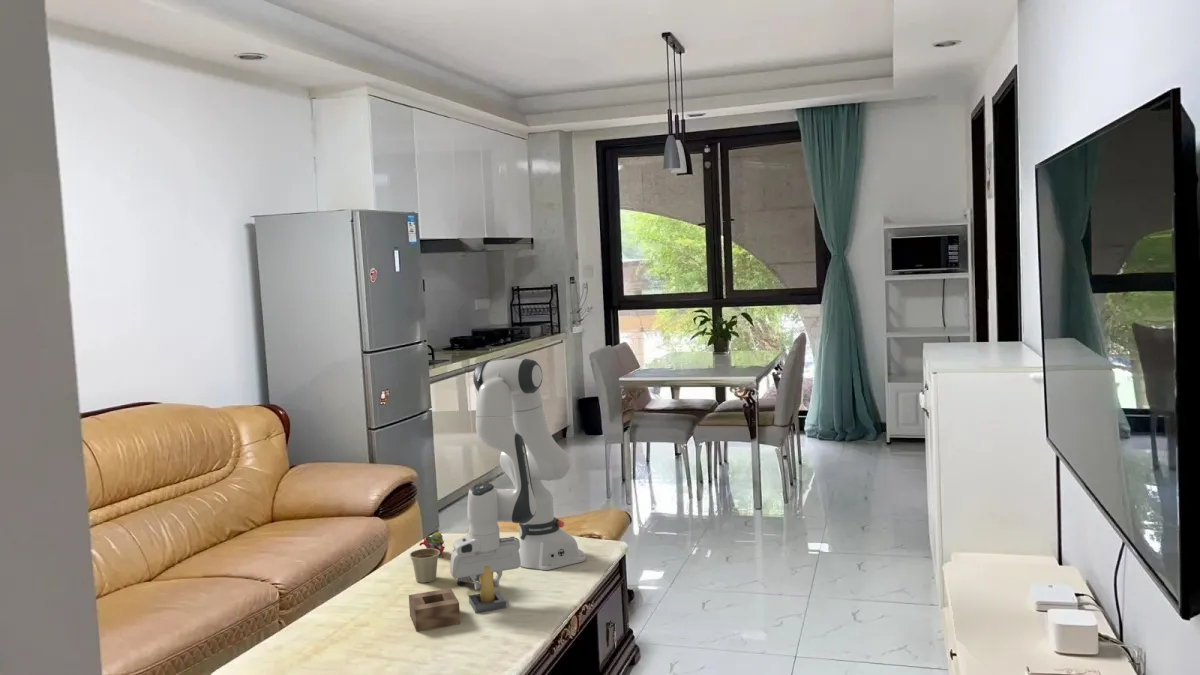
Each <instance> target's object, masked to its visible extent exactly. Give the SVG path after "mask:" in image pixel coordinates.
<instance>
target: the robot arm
mask: <svg viewBox="0 0 1200 675" xmlns="http://www.w3.org/2000/svg"><path fill="white" fill-rule="evenodd" d="M472 376H473V377H472V378H473V384H474V387H475V389H476V391H477V392H478V393H477V398H476V399H477V400H476V404H475V405H476V406H475V407H476V408H475V430H476V431H475V432H476V435H477V437H478V438H479V440H480V441H481V443H482V442H483V444H485V445H486V446H488V447H489V448H492V449H495V450H497V451H499V452H500V456H499V465H500V468H501V470H502V472H504V473H505V474H506V476H507V477H509V479H510V480H511V482H512V484H513V486H514V488H495V486H494V485H493V484H492V483H490V482H489V483H488V482H480V483H477V484H474V485H472V486H471V487H470V488H469V490H468V494H467V503H466V504H467V509H466V510H467V511H466V512H467V520H468V523H469V526H468V534H466V535H465V536H464V535H463V536H462V537H460V538H458V539H456V540H454V541H453V542H452V543H453V544H452V545H453V550H454V549H455V550H454V551H453V550H452V552H451V555H450V561H449V563H450V564H449V565H450V566H449V569H450V570H449V572H450V575H451V576H452V577H453V579H458V578H462V577H468V576H470V577H471V579H472V580H473V582H472V583H474V589H475V590H476V591H478V590H480V589H481V587H480V586H481V583H480V582H478V581H476V580H475V579H476V575H480V574H484V572H485V571H484V567H486V566H490V571H491V573H492V572H493V573H496V576H495V578H494V588H495V587H499V586H500V580H501V578H502V577H503V572H504V571H509V570H510V571H511V570H515V569H519V568H520V567H522V568H525V569H536V570H541V571H549V570H553V569H557V568H558V569H559V568H561V567H566V566H570V565H575V564H578V563H582V562H585V561H586V559H587V558H586V557H587V556H586V553H585V552H584V551H583V550H582V549H580V548H579V547H578V542H577V540H576V539H575V537H574V536H572V535H571V534H570V533H568V532H566V531H565V530H564V529H561V528H564V526H565V523H564V521H563V520H560V519H559V518H557V517H556V516H555V515H554V497H553V494H552V493H551V491H549V489H548V488H546V487H545V485H544V484H543V482H542V481H547V482H549V481H558V480H562V479H564V478H565V477H566V476H567V475H568V473H569V471H570V468H571V460H570V456H569V454H568V453H567V452H566V451H565V450H564V449H563V448H561V446H560V445H559V444H558V443H557V442H556V440H555V439H554V437H553V436H552V434H551V432H550V430H549V427H548V424H547V421H546V416H545V411H544V404H543V399H542V394H541V390H540V387H541V385H542V383H543V371H542V367H541V364H539V363H538V362H537V361H536V360H535V359H530V358H524V359H523V358H522V359H520V358H505V359H498V360H486V361H485V360H484V361H482V362H479V363H478V364H477V366H476V367H475V369H474V371H473V375H472ZM500 522H501V523H514V524H518V533H519V534H518V535H519V538H517V537H515V536H508V537H501V535H500V526H499V524H498V523H500ZM474 578H475V579H474Z"/></svg>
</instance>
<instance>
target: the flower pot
mask: <svg viewBox="0 0 1200 675" xmlns="http://www.w3.org/2000/svg"><path fill="white" fill-rule="evenodd" d="M440 555H441V554H440V551H439V550H437V549H431V548H420V549H416V550H413V551H412V552H410V553H409V558H410V559H411V561H412V566H413V571H414V576H415V580H416V582H417V583H421V584H423V583H424V584H425V583H431V582H432V583H433V582H434V581H435V580H437V579H436V578H437V569H438V560H439V557H440Z"/></svg>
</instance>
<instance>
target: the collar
mask: <svg viewBox="0 0 1200 675" xmlns="http://www.w3.org/2000/svg"><path fill="white" fill-rule="evenodd" d="M494 597H495V601H490V602H484V603H481V596H480V593H475V594H471V595H470V594H469V595H468V603H469V605H470V606H471V608H472V610H473V611H474V613H475V614H478V613H484V612H491V611H496V610H501V609H502V610H503V609H507V600H506V598H505V597H504V596H503V595H502V593H501V592H500V590H494Z"/></svg>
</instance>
